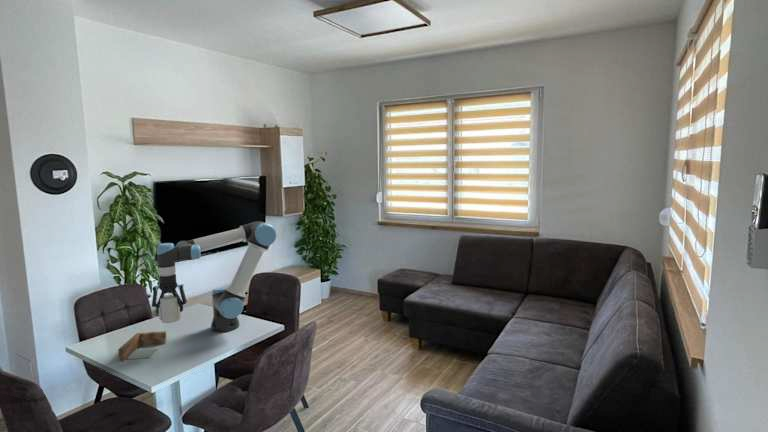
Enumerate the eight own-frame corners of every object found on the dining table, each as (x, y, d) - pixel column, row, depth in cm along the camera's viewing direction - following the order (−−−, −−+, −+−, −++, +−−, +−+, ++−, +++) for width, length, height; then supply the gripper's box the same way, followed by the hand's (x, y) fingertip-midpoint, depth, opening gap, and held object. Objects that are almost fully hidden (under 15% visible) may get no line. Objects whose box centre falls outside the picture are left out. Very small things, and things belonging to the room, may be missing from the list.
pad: (157, 349, 212) (157, 348, 212) (148, 357, 202) (148, 357, 202) (136, 350, 211) (135, 350, 211) (126, 359, 201) (126, 358, 201)
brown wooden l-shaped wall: (166, 342, 221) (165, 331, 220) (150, 359, 201) (149, 347, 200) (138, 343, 219) (137, 332, 218) (119, 361, 199) (118, 349, 199)
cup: (173, 323, 207) (171, 299, 206) (158, 322, 208) (156, 299, 207) (183, 317, 215) (181, 294, 214) (168, 317, 216) (166, 294, 215)
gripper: (191, 271, 215) (194, 314, 218) (146, 274, 210) (150, 318, 213) (188, 274, 208) (191, 319, 210) (141, 277, 203) (145, 323, 206)
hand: (170, 318), depth 212 cm, fingers closed on cup, 8 cm apart
